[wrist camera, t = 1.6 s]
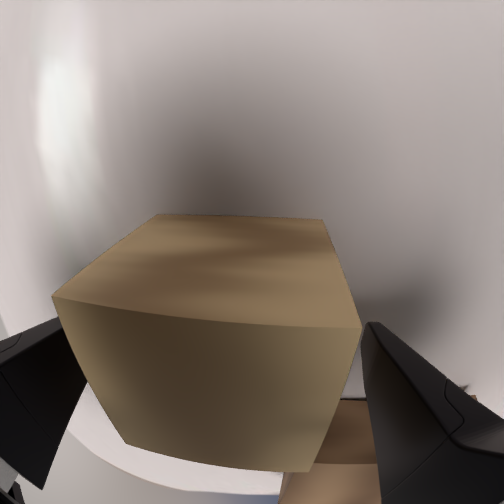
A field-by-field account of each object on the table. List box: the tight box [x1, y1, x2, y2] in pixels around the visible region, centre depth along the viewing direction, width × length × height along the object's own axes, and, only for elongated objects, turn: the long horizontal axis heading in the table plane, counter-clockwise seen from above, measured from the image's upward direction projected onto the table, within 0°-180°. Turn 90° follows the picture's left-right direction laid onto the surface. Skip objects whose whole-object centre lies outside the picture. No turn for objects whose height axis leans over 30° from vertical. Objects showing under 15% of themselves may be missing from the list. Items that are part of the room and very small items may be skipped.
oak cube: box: [51, 215, 362, 472], centre depth 8 cm, size 6×6×6 cm
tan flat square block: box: [278, 395, 478, 504], centre depth 13 cm, size 11×11×4 cm
